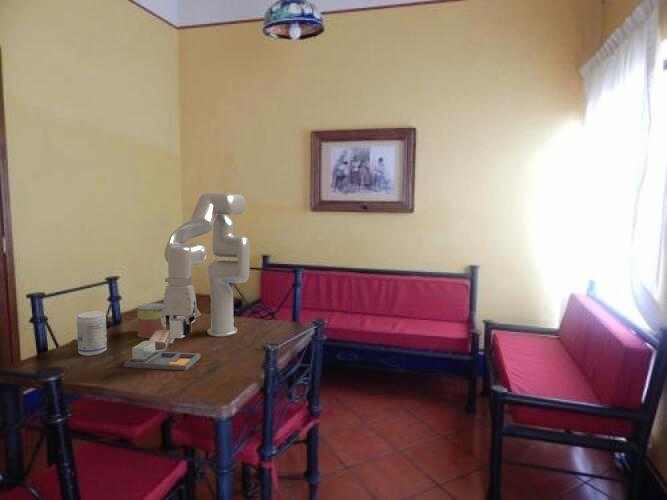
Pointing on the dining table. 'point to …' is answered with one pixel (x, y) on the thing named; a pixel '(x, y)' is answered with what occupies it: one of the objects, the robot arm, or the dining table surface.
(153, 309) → the canned food
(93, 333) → the supplement tub
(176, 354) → the rack
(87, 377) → the dining table surface
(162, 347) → the packaged product
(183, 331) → the white rectangular block
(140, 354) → the panel seated
